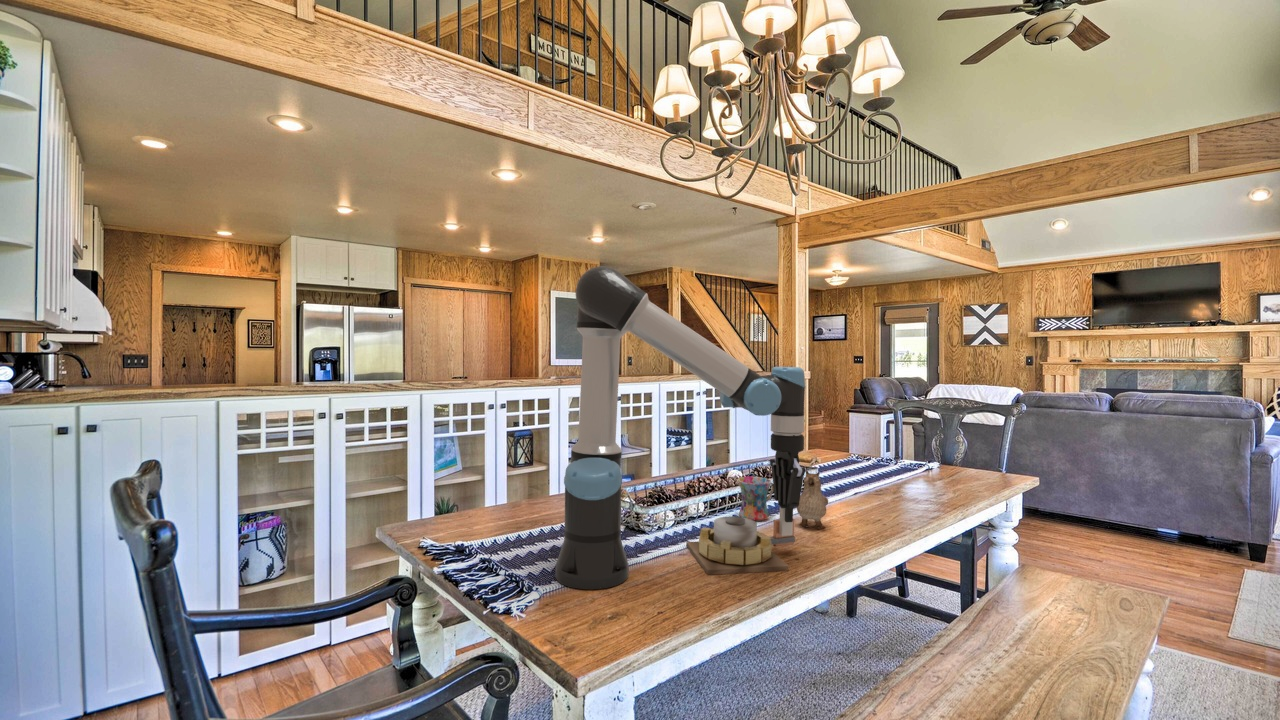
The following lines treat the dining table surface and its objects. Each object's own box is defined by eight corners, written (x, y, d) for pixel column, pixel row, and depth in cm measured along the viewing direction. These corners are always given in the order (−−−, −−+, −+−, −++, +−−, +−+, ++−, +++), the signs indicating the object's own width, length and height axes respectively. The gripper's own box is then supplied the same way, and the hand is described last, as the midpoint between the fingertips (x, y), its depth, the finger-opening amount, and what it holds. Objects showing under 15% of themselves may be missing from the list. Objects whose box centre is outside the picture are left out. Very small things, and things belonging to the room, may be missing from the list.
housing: (707, 574, 125) (708, 533, 125) (685, 545, 144) (686, 508, 144) (788, 570, 129) (789, 529, 128) (756, 541, 147) (757, 506, 147)
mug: (753, 524, 161) (753, 485, 161) (730, 516, 169) (730, 478, 169) (784, 518, 168) (785, 480, 167) (761, 510, 175) (762, 474, 175)
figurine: (791, 529, 157) (793, 473, 157) (793, 519, 166) (794, 466, 166) (828, 533, 154) (829, 475, 154) (827, 522, 164) (828, 468, 163)
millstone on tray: (720, 568, 125) (720, 539, 125) (687, 544, 140) (688, 518, 140) (813, 555, 134) (814, 528, 134) (773, 534, 149) (774, 509, 149)
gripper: (816, 436, 133) (814, 542, 134) (788, 429, 146) (787, 525, 146) (785, 437, 131) (784, 544, 132) (760, 430, 144) (759, 527, 144)
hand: (785, 534), depth 139 cm, fingers closed
